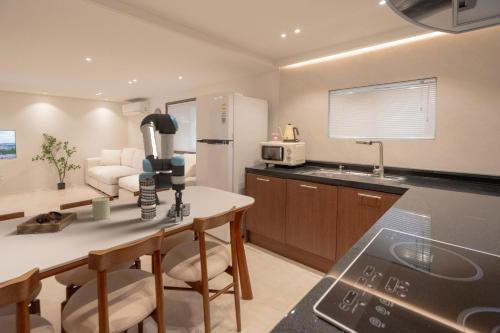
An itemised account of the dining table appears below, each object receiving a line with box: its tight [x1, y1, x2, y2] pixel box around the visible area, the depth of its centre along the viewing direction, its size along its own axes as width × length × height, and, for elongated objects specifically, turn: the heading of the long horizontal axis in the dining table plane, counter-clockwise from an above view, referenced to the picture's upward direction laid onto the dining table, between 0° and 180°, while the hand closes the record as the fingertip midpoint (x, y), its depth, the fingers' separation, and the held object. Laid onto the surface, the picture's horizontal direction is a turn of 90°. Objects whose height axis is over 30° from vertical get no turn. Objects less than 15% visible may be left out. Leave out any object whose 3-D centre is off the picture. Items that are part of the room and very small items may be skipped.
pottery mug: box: [36, 210, 63, 224], centre depth 145 cm, size 12×10×8 cm
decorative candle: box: [140, 177, 157, 222], centre depth 157 cm, size 9×9×25 cm
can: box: [91, 196, 111, 221], centre depth 158 cm, size 9×9×12 cm
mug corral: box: [16, 211, 78, 235], centre depth 145 cm, size 19×21×4 cm
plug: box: [174, 206, 184, 223], centre depth 156 cm, size 4×4×8 cm
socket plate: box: [169, 203, 191, 217], centre depth 172 cm, size 12×16×4 cm
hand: (179, 218), depth 156 cm, fingers open, 12 cm apart
